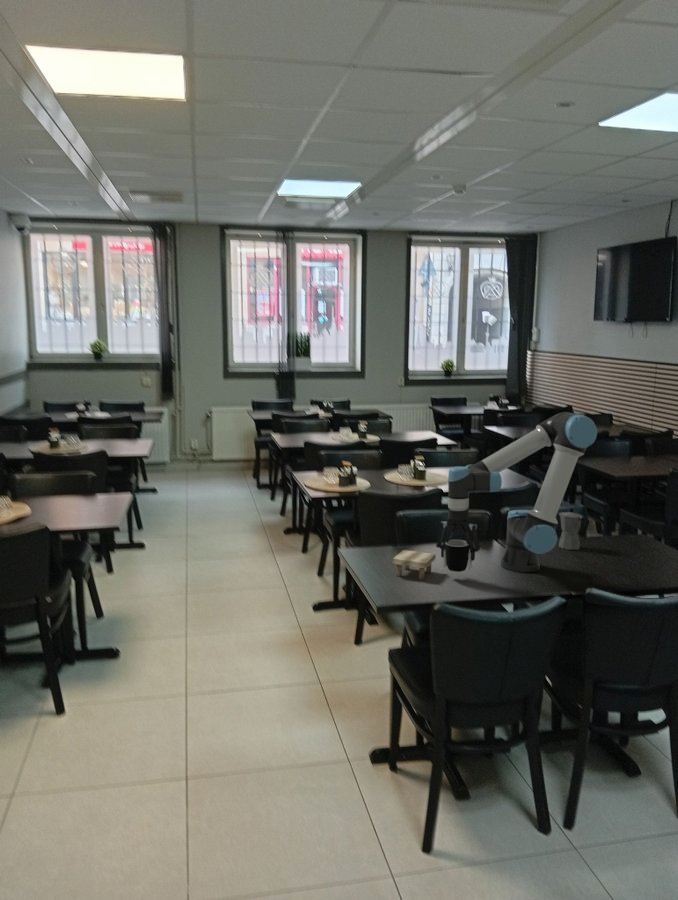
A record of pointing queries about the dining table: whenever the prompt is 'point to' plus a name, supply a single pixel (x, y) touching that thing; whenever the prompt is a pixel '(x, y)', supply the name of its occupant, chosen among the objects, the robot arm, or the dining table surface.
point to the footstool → (414, 562)
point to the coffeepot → (571, 529)
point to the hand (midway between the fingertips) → (457, 567)
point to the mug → (456, 555)
